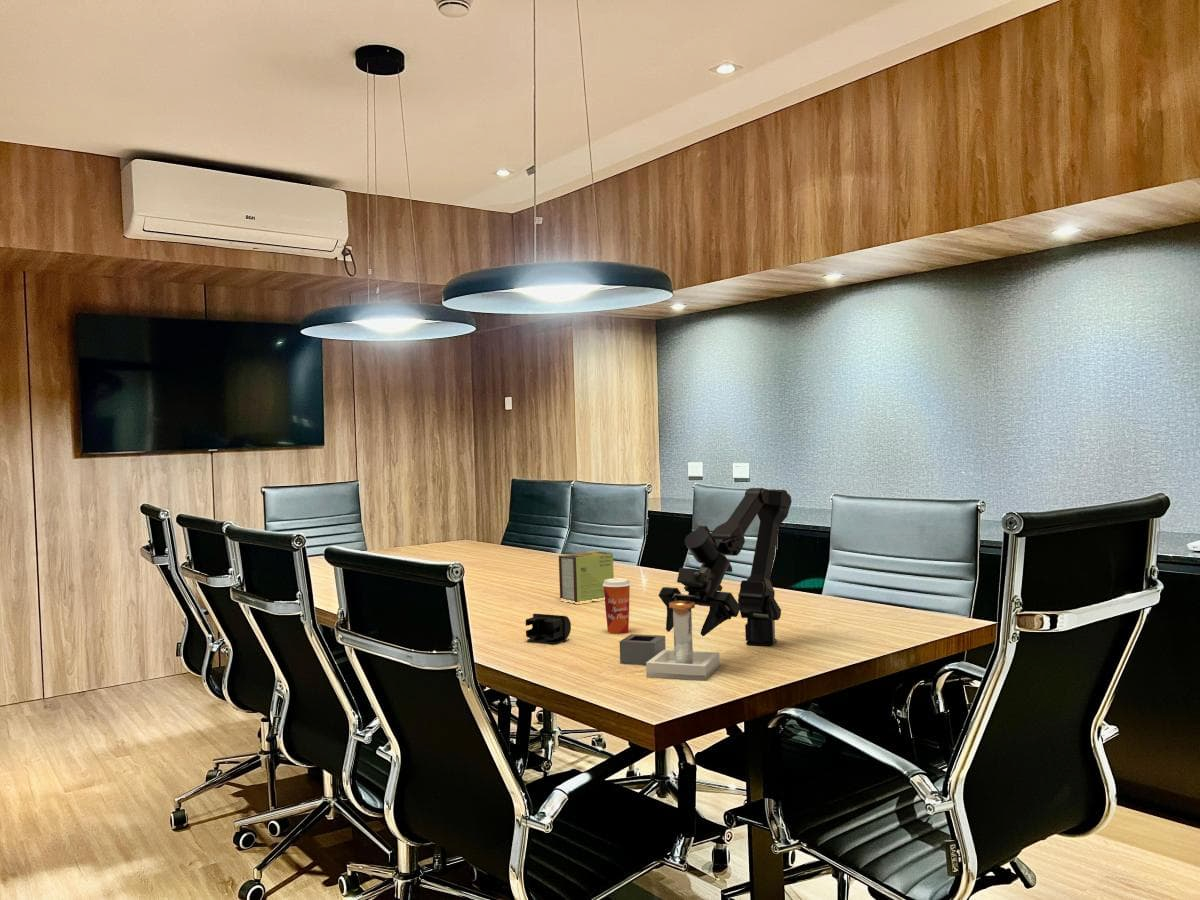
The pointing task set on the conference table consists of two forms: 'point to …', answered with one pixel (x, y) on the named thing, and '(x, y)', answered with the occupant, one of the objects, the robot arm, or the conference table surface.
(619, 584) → the paper cup
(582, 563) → the protein box
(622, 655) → the block
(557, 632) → the end cap
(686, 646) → the hitch pin
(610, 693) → the conference table surface
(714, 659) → the tray
